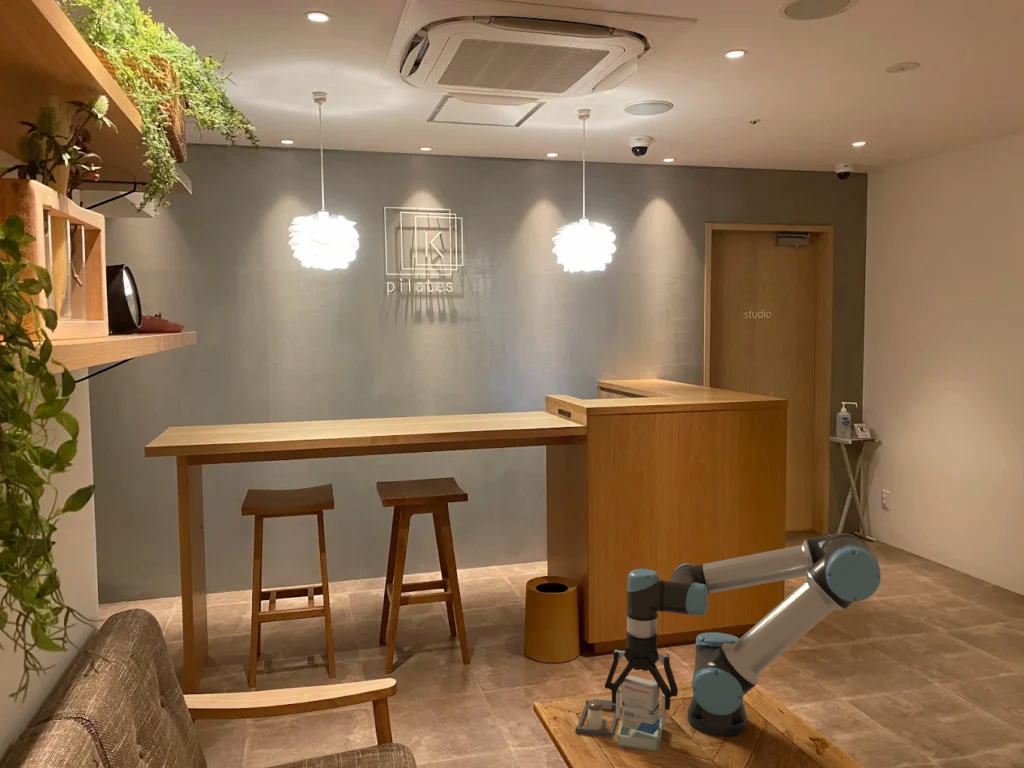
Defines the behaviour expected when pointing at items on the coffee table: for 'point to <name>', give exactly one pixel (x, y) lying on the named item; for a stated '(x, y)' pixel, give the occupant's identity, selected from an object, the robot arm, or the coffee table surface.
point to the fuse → (595, 715)
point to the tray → (639, 738)
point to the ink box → (640, 704)
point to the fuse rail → (605, 733)
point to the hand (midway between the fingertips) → (640, 718)
